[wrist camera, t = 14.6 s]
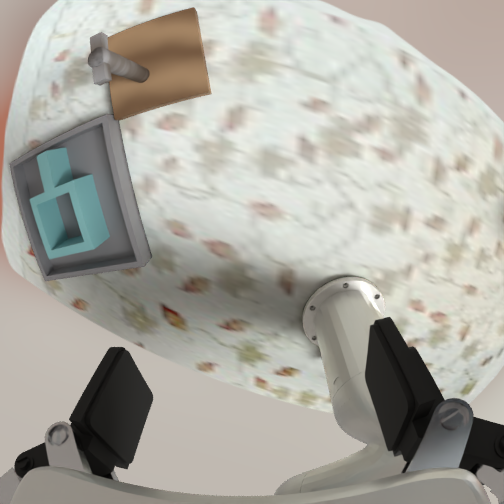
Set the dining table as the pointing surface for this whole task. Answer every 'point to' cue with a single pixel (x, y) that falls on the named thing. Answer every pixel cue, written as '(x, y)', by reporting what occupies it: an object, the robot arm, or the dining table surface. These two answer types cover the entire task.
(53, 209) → the teal hollow frame
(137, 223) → the tray
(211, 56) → the dining table surface
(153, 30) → the stake board
